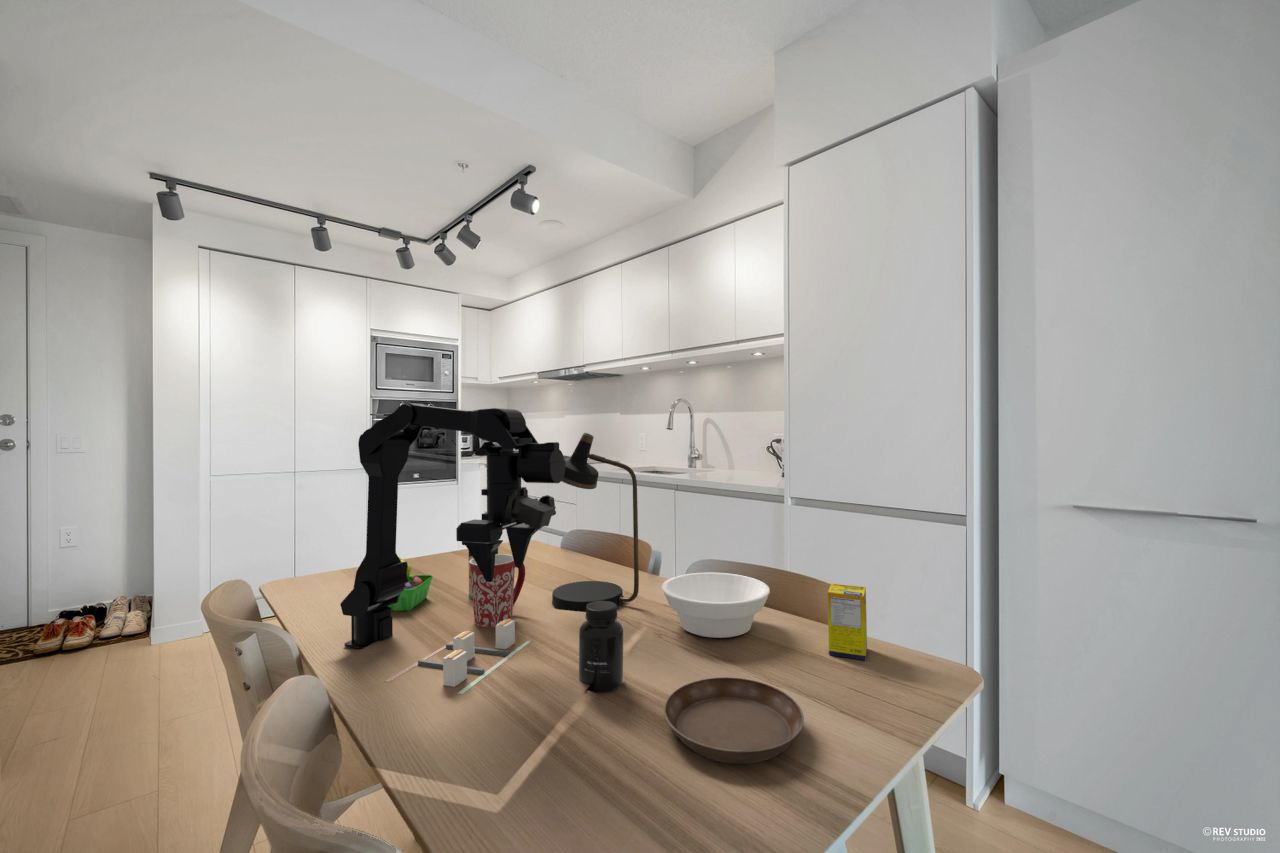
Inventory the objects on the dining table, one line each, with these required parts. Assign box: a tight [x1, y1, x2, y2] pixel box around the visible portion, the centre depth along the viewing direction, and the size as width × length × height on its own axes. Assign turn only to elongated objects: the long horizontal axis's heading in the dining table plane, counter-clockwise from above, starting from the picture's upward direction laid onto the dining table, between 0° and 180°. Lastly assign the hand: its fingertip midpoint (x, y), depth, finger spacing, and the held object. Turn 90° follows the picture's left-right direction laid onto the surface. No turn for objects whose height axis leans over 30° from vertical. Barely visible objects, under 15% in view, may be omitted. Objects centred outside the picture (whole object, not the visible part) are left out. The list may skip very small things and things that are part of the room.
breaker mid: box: [452, 630, 476, 662], centre depth 88 cm, size 2×3×4 cm, turn 163°
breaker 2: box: [495, 618, 516, 651], centre depth 94 cm, size 2×3×4 cm, turn 163°
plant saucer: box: [663, 676, 805, 765], centre depth 69 cm, size 18×18×3 cm
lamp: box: [551, 432, 640, 613], centre depth 121 cm, size 16×22×38 cm
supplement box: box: [827, 583, 868, 661], centre depth 93 cm, size 6×6×11 cm
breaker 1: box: [442, 649, 468, 688], centre depth 80 cm, size 2×3×4 cm, turn 163°
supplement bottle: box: [578, 601, 624, 694], centre depth 82 cm, size 7×7×12 cm
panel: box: [384, 640, 532, 695], centre depth 88 cm, size 14×22×2 cm, turn 163°
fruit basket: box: [388, 556, 433, 612], centre depth 121 cm, size 11×9×11 cm
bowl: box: [661, 572, 771, 639], centre depth 105 cm, size 21×21×8 cm
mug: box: [468, 553, 526, 628], centre depth 108 cm, size 13×9×14 cm
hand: (504, 574), depth 90 cm, fingers open, 9 cm apart
